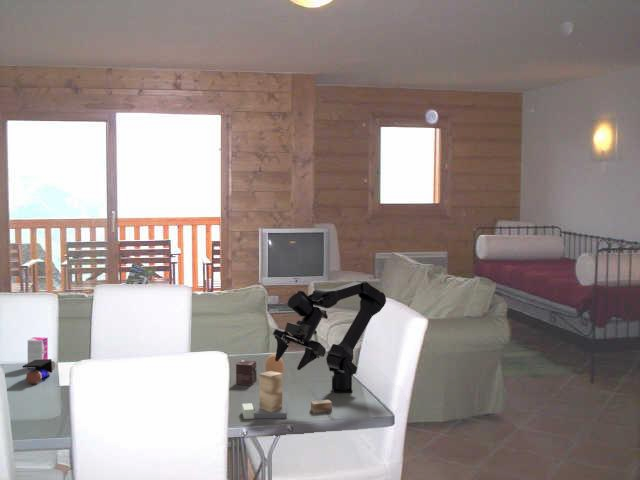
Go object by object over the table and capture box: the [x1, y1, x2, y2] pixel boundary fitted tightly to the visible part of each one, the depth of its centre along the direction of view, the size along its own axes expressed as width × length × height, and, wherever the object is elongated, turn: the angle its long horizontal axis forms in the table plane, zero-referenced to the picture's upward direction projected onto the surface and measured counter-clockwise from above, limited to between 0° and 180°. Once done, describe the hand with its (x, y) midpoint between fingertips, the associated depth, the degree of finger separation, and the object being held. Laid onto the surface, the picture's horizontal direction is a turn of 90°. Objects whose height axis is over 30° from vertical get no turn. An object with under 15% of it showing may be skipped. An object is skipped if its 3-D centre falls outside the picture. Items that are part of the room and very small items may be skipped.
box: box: [235, 360, 258, 386], centre depth 252 cm, size 6×6×7 cm
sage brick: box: [241, 402, 255, 420], centre depth 216 cm, size 6×3×3 cm, turn 12°
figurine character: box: [22, 358, 56, 385], centre depth 254 cm, size 7×8×15 cm
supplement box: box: [27, 336, 49, 371], centre depth 270 cm, size 6×6×12 cm
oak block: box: [258, 371, 283, 412], centre depth 218 cm, size 5×5×11 cm
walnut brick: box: [310, 399, 333, 414], centre depth 221 cm, size 6×3×3 cm, turn 107°
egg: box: [265, 353, 285, 374], centre depth 258 cm, size 7×7×9 cm
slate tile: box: [253, 402, 288, 419], centre depth 218 cm, size 10×10×2 cm
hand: (286, 365), depth 225 cm, fingers open, 9 cm apart
